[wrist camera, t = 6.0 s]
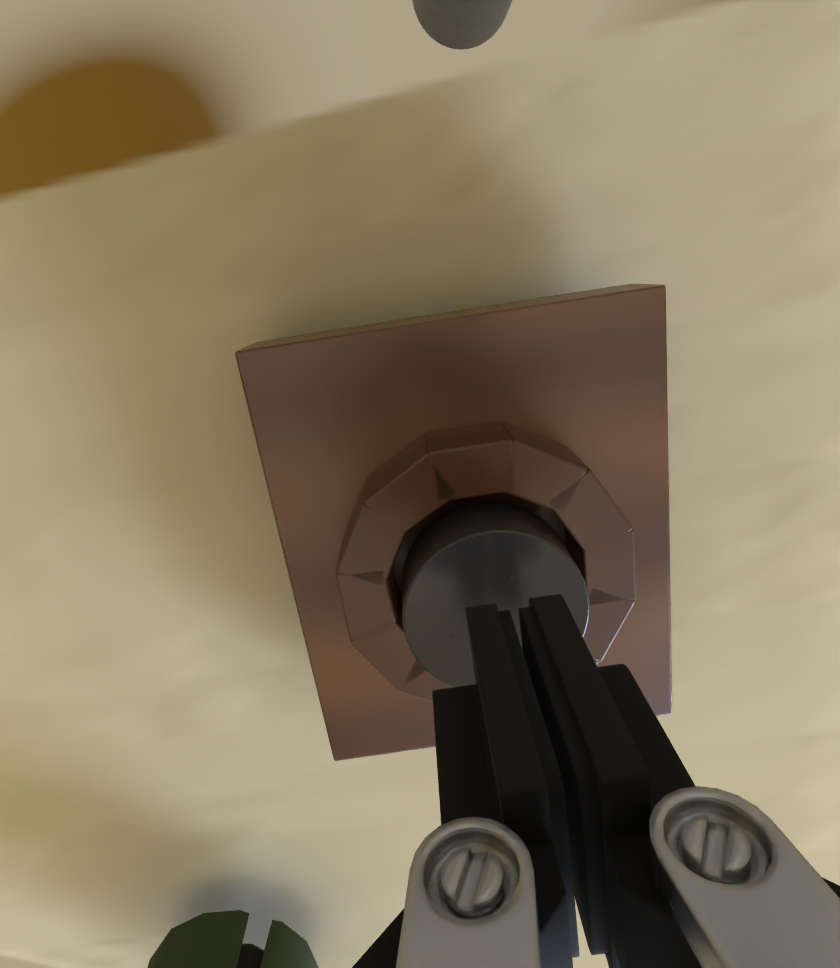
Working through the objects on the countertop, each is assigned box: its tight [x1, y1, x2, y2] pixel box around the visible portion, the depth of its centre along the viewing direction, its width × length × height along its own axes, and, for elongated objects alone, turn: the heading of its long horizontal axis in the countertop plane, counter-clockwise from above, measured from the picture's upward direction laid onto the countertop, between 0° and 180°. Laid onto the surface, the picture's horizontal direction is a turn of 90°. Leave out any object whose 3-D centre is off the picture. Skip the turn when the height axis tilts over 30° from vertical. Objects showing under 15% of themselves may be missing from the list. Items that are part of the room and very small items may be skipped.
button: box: [402, 501, 590, 687], centre depth 14 cm, size 4×4×2 cm
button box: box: [235, 284, 672, 761], centre depth 16 cm, size 12×10×4 cm
